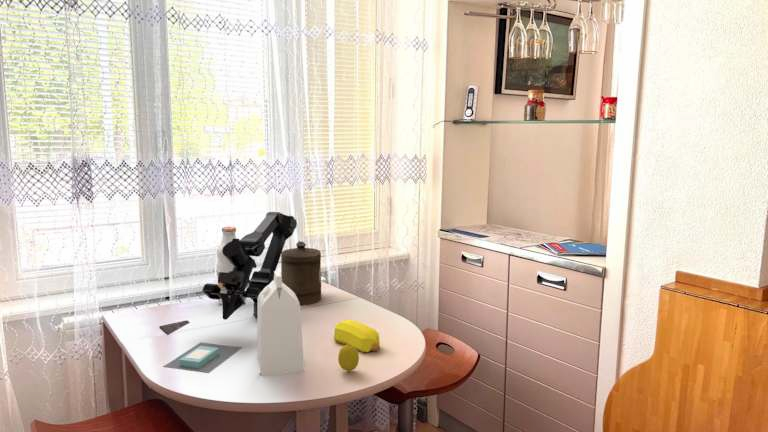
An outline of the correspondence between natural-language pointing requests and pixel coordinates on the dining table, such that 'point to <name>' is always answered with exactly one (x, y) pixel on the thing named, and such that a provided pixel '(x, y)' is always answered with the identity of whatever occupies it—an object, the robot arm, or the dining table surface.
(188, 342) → the dining table surface
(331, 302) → the dining table surface
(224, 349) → the mat
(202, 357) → the card box
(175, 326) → the chocolate bar
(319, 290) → the wooden container
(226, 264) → the fruit juice
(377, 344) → the yellow kitchen sponge
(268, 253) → the robot arm
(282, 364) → the milk
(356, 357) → the lemon
